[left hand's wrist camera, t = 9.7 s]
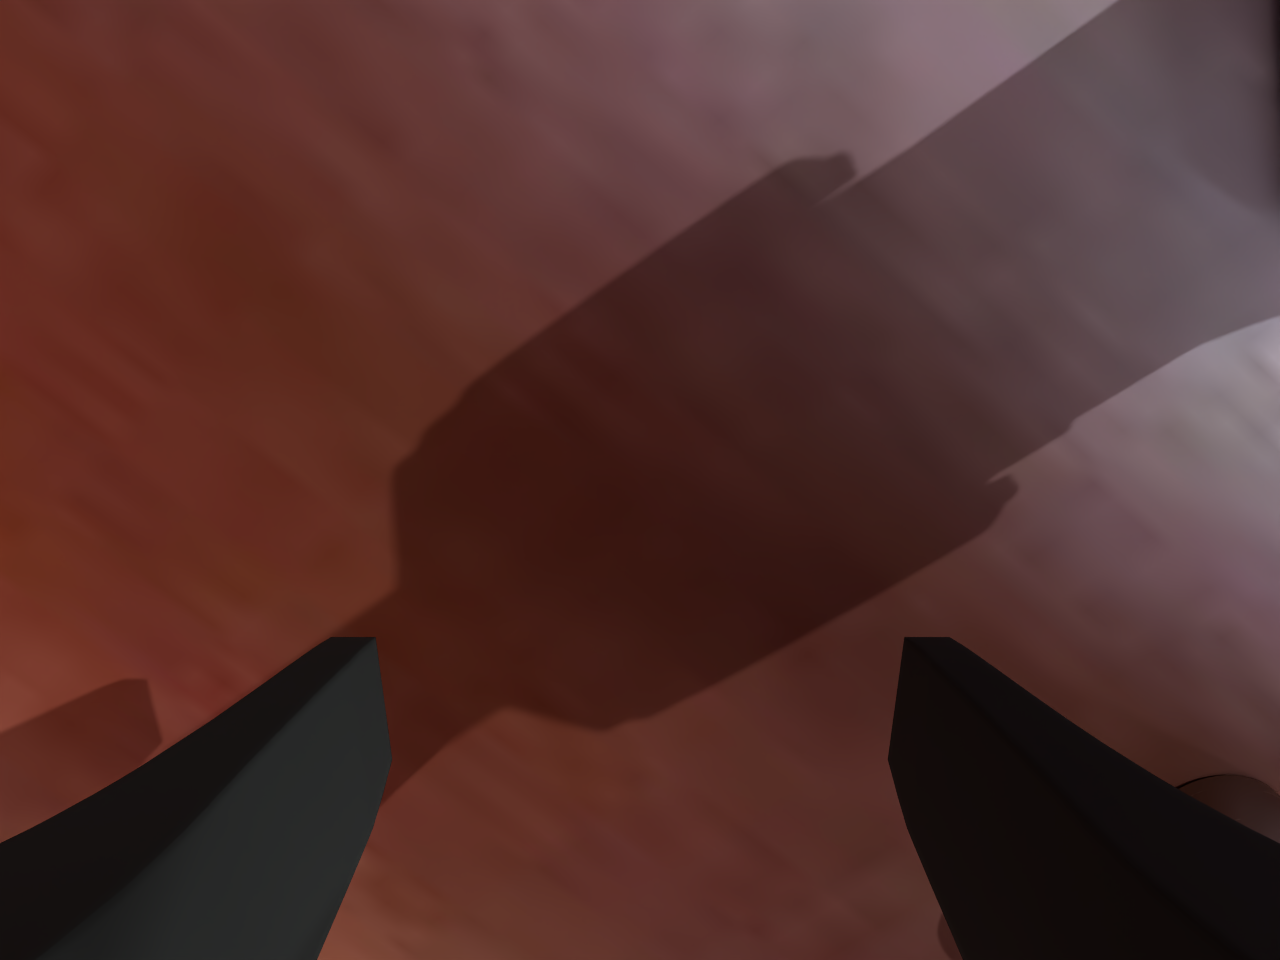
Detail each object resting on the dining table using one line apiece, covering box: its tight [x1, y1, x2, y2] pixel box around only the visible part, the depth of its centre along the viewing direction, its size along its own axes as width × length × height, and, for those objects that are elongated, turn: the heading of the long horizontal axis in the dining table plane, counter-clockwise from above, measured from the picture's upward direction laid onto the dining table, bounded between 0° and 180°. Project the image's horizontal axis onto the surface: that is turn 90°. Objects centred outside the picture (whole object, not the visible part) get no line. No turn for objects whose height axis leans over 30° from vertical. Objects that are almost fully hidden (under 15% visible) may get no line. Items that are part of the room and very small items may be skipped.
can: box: [1179, 775, 1280, 843], centre depth 21 cm, size 4×4×5 cm
